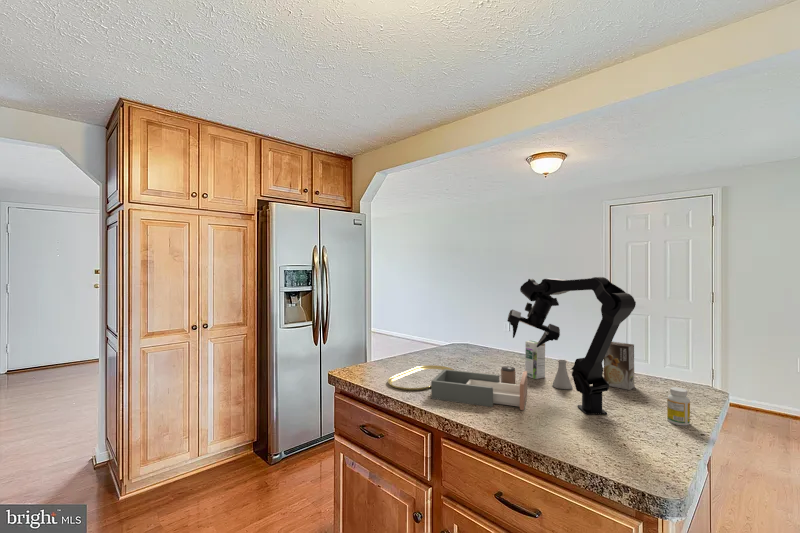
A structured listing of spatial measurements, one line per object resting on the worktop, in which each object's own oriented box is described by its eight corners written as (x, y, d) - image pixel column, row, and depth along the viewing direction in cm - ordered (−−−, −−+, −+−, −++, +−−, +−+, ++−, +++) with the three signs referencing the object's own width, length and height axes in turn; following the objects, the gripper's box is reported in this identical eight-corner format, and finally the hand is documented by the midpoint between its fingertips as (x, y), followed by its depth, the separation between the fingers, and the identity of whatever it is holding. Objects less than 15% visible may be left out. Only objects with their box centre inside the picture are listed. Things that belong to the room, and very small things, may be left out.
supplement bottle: (677, 426, 108) (677, 392, 108) (662, 419, 113) (662, 386, 113) (695, 425, 108) (695, 392, 108) (679, 418, 114) (679, 386, 114)
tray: (527, 393, 134) (527, 371, 134) (523, 410, 119) (523, 384, 119) (470, 387, 142) (470, 365, 142) (460, 401, 127) (460, 377, 127)
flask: (568, 384, 147) (568, 358, 147) (575, 390, 139) (575, 363, 139) (549, 383, 147) (549, 357, 147) (555, 389, 140) (555, 362, 140)
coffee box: (635, 387, 143) (635, 344, 143) (629, 390, 139) (629, 346, 139) (609, 381, 150) (609, 340, 150) (602, 384, 146) (602, 342, 146)
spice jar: (517, 389, 141) (517, 369, 141) (502, 389, 141) (502, 369, 141) (513, 384, 146) (513, 366, 146) (499, 384, 146) (499, 365, 146)
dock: (499, 391, 138) (499, 374, 138) (492, 406, 123) (492, 388, 123) (444, 384, 146) (444, 369, 146) (431, 398, 131) (431, 381, 131)
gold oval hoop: (378, 386, 145) (378, 382, 145) (426, 366, 174) (426, 363, 174) (419, 395, 135) (419, 391, 135) (463, 373, 163) (463, 369, 163)
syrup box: (524, 375, 158) (524, 340, 158) (535, 374, 160) (535, 339, 160) (534, 379, 153) (534, 343, 153) (545, 377, 155) (545, 342, 155)
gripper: (566, 308, 143) (549, 340, 151) (517, 290, 147) (503, 322, 155) (567, 322, 134) (549, 356, 141) (515, 303, 138) (500, 336, 145)
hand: (525, 341), depth 146 cm, fingers open, 9 cm apart
